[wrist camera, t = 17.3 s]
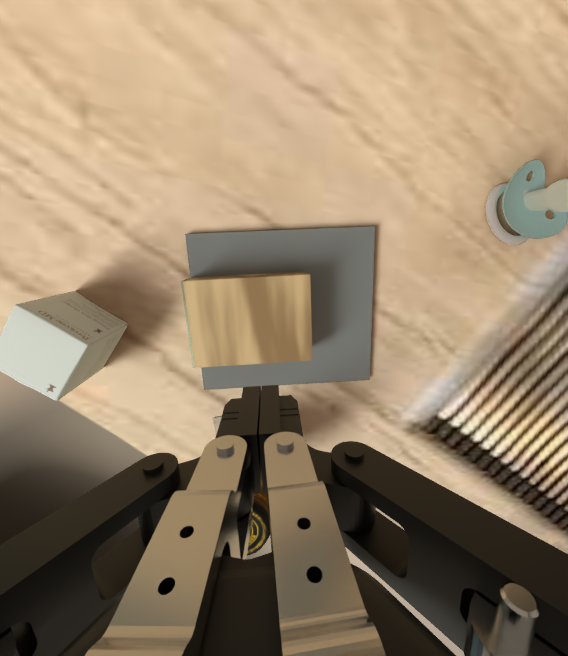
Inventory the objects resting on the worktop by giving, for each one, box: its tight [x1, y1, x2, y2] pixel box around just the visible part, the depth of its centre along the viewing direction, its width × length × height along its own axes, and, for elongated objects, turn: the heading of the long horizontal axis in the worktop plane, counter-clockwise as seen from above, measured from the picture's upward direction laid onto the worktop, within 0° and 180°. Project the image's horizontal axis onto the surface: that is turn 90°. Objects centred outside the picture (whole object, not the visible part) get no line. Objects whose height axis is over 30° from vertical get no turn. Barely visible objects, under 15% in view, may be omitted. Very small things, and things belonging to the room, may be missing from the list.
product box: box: [0, 291, 128, 401], centre depth 27 cm, size 6×6×7 cm
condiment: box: [213, 417, 270, 555], centre depth 29 cm, size 7×8×12 cm
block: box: [181, 271, 312, 368], centre depth 29 cm, size 4×8×11 cm
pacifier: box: [485, 160, 568, 245], centre depth 27 cm, size 7×6×6 cm
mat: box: [185, 226, 375, 390], centre depth 31 cm, size 18×16×1 cm
